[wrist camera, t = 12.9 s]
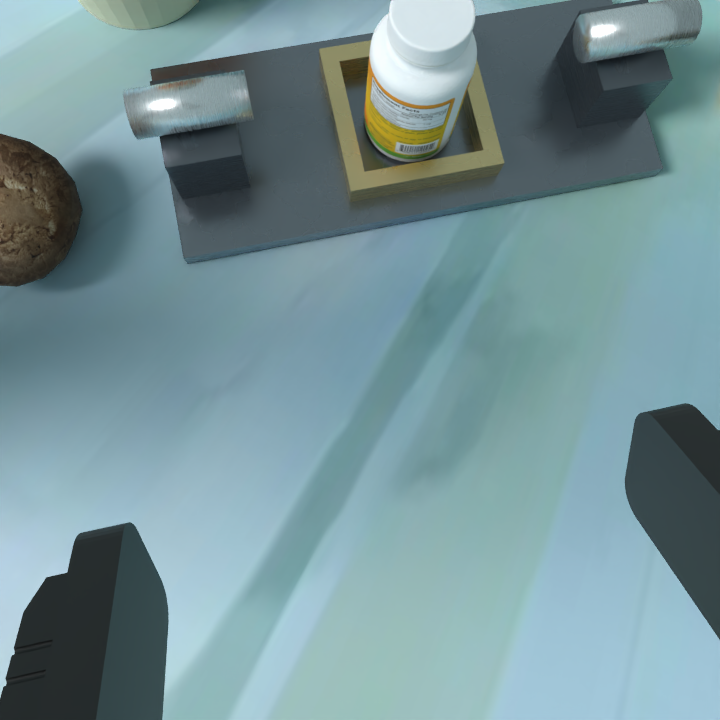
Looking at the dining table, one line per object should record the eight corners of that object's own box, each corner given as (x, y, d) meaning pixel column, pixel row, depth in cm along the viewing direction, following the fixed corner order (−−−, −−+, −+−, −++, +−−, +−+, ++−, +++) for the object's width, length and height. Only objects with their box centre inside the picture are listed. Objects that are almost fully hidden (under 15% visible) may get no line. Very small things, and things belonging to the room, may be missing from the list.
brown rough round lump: (-122, 178, 35) (-118, 156, 30) (21, 129, 39) (46, 102, 34) (-35, 310, 38) (-18, 310, 33) (90, 252, 42) (122, 244, 37)
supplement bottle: (405, 65, 40) (429, -63, 31) (471, 122, 40) (515, 10, 30) (344, 123, 39) (349, 10, 30) (410, 182, 39) (436, 87, 29)
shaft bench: (179, 265, 38) (143, 216, 31) (146, 80, 40) (106, -6, 33) (662, 174, 41) (734, 109, 33) (610, 4, 43) (667, -93, 35)
